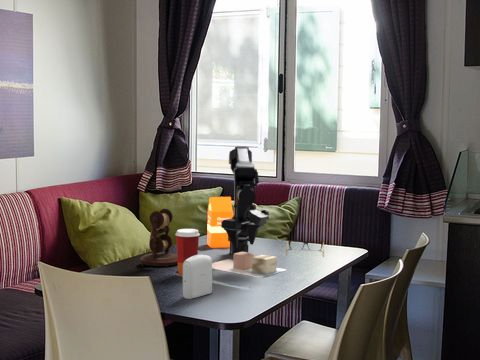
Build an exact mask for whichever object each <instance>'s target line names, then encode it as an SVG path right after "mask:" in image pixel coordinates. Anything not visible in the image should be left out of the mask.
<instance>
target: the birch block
mask: <svg viewBox="0 0 480 360" xmlns="http://www.w3.org/2000/svg"><path fill="white" fill-rule="evenodd" d="M277 261H278V256H273V255H268V254H260V255H256V256H255V255H254V257H252V272H257V273H262V274H269V273H273V272H276V271H277V268H278V267H277V265H278V263H277Z"/></svg>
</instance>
